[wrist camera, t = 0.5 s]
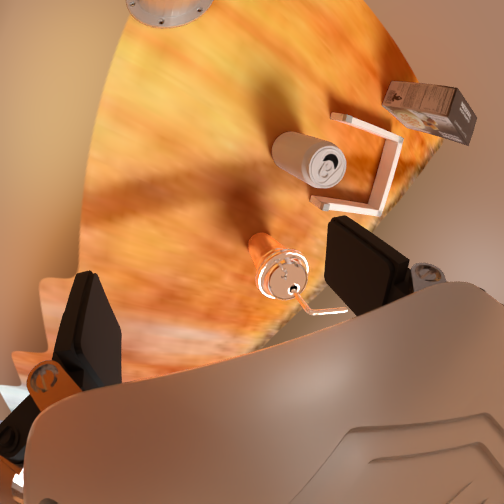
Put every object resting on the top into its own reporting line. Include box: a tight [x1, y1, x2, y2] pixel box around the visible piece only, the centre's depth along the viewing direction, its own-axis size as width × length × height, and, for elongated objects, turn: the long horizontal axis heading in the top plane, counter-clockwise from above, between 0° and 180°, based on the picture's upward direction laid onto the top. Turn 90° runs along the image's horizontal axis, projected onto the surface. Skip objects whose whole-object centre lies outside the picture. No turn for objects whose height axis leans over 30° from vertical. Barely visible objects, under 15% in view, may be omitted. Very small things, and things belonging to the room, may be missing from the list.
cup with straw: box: [248, 232, 347, 315], centre depth 43 cm, size 8×9×20 cm
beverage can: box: [272, 132, 346, 188], centre depth 39 cm, size 6×6×12 cm
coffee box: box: [382, 81, 477, 146], centre depth 39 cm, size 9×6×16 cm
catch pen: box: [310, 112, 404, 217], centre depth 47 cm, size 16×15×4 cm
